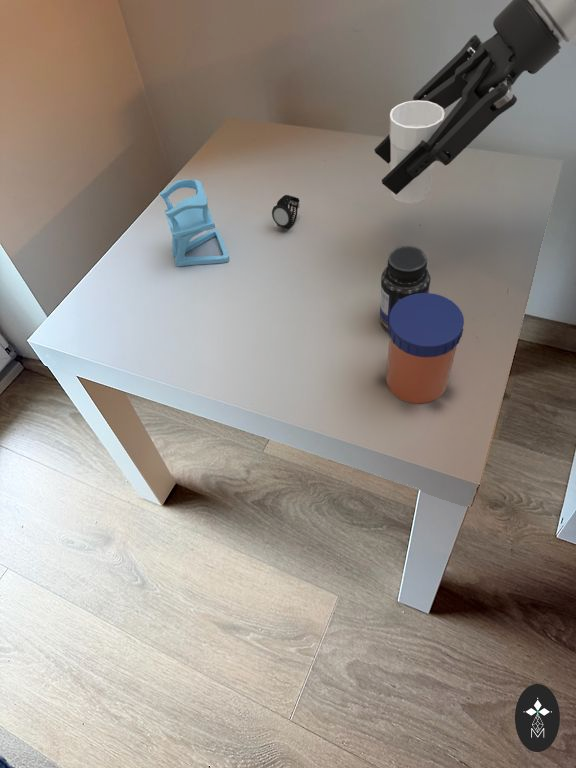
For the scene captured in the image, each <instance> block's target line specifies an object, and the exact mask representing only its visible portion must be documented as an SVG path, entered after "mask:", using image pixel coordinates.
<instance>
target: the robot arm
mask: <svg viewBox="0 0 576 768" xmlns="http://www.w3.org/2000/svg"><path fill="white" fill-rule="evenodd" d="M492 26H493V28H494V30H495V32H496V33H495V34H494V35H492V36H491V37H490V38H488V39H487V40H485V41H482V40H481V38H480V37H478V34H474V35H473V36H471V37H470V39H469V40H468V41H467V42H466V43H465V44H464V46H463V47H462V48H461V50H460V51H459V52H458V53H456V55H454V57H452V58H451V60H450V61H448V62H447V63H446V65H444V66H443V67H442V68H441V69H440V70H439V71H438V72H436V74H435V75H434V76H432V78H431V79H429V81H428V82H426V84H424V85H423V86H422V87H421V88H420V89H419V90H418V91H416V93H414V95H413V97H412V101H417V100H418V101H429V102H432V103H435V104H437V105H439V106H441V107H442V108H443V109H444V110H445V109H447V108H449V107H450V106H451V105H453V104H454V103H456V102H457V103H456V104H455V105H454V106H453V108H452V110H451V111H450V112H449V113H448V115H447V116H445V117H444V121H443V122H442V124H441V125H440V126H439V127H438V129H437V130H436V131H435V133H434V134H433V135H432V136H431V138H430V139H429V140H428V142H427V143H426V142H425V141H423V140H422V141H421V143H420V144H419V145H418V146H417V147H416V148H415V149H414V150H413V151H411V152H410V153H409V154H408V155H407V156H406V157H405V158H404V159H403V160H402V161H401V162H400V163H399V164H398V165H397V166H396V167H395V168H394V169H393V170H392V171H391V170H390V171H389V172H388V173H387V174H386V175H385V176H384V177H383V178H382V179H381V184H382V185H384V187H386V188H387V189H388V190H389V191H390V190H391V191H392V192H393V193H394V194H396V195H397V194H398V193H399V192H400V191H401V190H402V189H403V188H404V187H405V186H407V185H408V184H409V183H410V182H411V181H412V180H413V179H414V178H416V177H417V176H419V175H420V174H421V173H422V172H423V171H424V170H425V169H426V168H427V167H429V166H430V165H431V164H432V163H433V162H434V161H435V162H436V161H437V162H440V163H442V164H443V165H444V166H449V165H450V164H451V163H452V162H453V161H454V160H455V159H456V158H457V157H458V156H459V155H460V154H461V153H462V152H463V151H464V150H465V149H466V148H467V147H468V146H469V145H470V144H471V143H472V142H473V141H475V139H476V138H477V137H478V136H479V135H480V134H481V133H482V132H483V131H484V130H486V128H488V127H489V125H491V124H492V122H494V121H495V120H496V119H497V118H498V117H499V116H500V115H501V114H503V113H505V112H506V111H507V110H509V109H510V108H512V107H513V106H515V104H516V103H517V101H518V98H517V96H515V94H514V92H513V89H512V86H513V85H514V84H515V83H516V81H517V80H518V78H519V77H520V76H521V75H522V74H523V73H524V72H527V73H528V74H530V75H535V74H537V73H538V72H539V71H540V70H541V69H542V68H544V67H545V66H546V65H547V64H548V63H549V62H550V61H552V60H553V59H554V58H555V57H556V56H557V55H558V54H559V53H560V50H561V49H562V47H561V43H562V42H563V41H564V42H565V43H571V41H573V40H574V39H575V38H576V0H511V1H510V2H509V4H507V5H506V6H505V7H504V9H502V11H500V13H498V15H496V16H495V18H494V19H493V22H492ZM458 100H459V101H458ZM373 150H374V154H376V155H378V157H380V158H381V160H383V161H384V162H385V163H387V164H388V165H389V164H391V142H390V133H388V134H387V136H386V137H385V138H384V139H383V140H382V141H381V142H380V143H379V144H378V145H377V146H376V147H375V148H374V149H373ZM435 162H434V163H435Z"/></svg>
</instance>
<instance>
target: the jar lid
mask: <svg viewBox="0 0 576 768" xmlns="http://www.w3.org/2000/svg"><path fill="white" fill-rule="evenodd" d="M464 324H465V319H464V315H463V312H462V310H461V308H460V307H459V306H458V305H457V304H456V303H455V302H454V301H453V300H451V299H449V298H447V297H446V296H442V295H440V294H437V293H432V292H429V293H417V294H412V295H409V296H406V297H404V298H402V299H401V300H399V301H398V302H397V303H396V304H395V305H394V306H393V308H392V310H391V312H390V315H389V321H388V329H389V331H388V336H389V337H390V338H391V340H392V341H393V343H394V344H395V345H396V346H397V347H398V348H399V349H401V350H402V351H404V352H406V353H407V354H411V355H414V356H418V357H426V358H427V357H437V356H440V355H443V354H446V353H447V352H449V351H451V350H453V348H454V347H455V346H456V345H457V346H458V344H459V343H460V340H461V338H462V336H463V332H464Z"/></svg>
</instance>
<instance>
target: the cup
mask: <svg viewBox="0 0 576 768" xmlns="http://www.w3.org/2000/svg"><path fill="white" fill-rule="evenodd" d="M445 115H446V113H445V109H443V108H442V107H441V106H439V105H437V104H435V103H432V102H429V101H418V100H417V101H414V100H409V101H405V102H402V103H399V104H397V105H396V106H394V107H393V108H391V110H390V113H389V134H390V142H391V162H390V172H391V171H392V170H393V169H394V168H395V167H396V166H397V165H398V164H399V163H400V162H401V161H402V160H403V159H404V158H405V157H406V156H407V155H408V154H409V153H410V152H411V151H413V150H414V149H415V148H416V147H417V146H418V145H419V144H420V143H421V141H422V140H423V141H425V142H426V143H427V142H428V140H429V139H430V138H431V136H432V135H433V134H434V133H435V131H436V130H437V129H438V127H439V126H440V125H441V124H442V122H443V121H444V120H445ZM435 163H436V161H434V162H433V163H432V164H431V165H430V166H429V167H427V168H426V169H425V170H424V171H423V172H422V173H421V174H420V175H419V176H417V177H416V178H414V179H413V180H412V181H411V182H410V183H409V184H408V185H407V186H405V187H404V188H403V189H402V190H401V191H400V192H399V193H398V194H397V195H396V194H394V193H393V192H392V191H391V190H390V189H389V191H390V194H391V196H392V197H393V199H394V200H395V201H396V202H399V203H403V204H408V205H412V204H415V203H419V202H420V203H421V202H424V200H425V199H426V197H427V196H428V195H429V193H430V189H431V183H432V177H433V172H434V168H435Z"/></svg>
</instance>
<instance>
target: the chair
mask: <svg viewBox="0 0 576 768" xmlns="http://www.w3.org/2000/svg"><path fill="white" fill-rule="evenodd" d="M184 188H185V189H186V188H188V189H193V190H195V195H192V196H190V197H186V198H184V199H182V200H181V201H179V202H177V204H175V205H174V206H173V204H172V201H171V200H170V199H169V197H170V196H171V195H172V194H173V193H174V192H175V191H177V190H180V189H184ZM158 195H159V196H160V197H161V198H162V199H163V201H164V202H165V205H166V208H167V209H165V210H164V214H165V216H166V219H167V223H168V226H169V230H170V233H171V236H172V245H171V252H172V256H173V257H174V263H175V266H176V267H183V266H184V267H185V266H196V265H211V264H225V263H229V262H230V256H229V254H228V251H227V248H226V246H225V243H224V241H223V238H222V235H221V233H220V231H219V229H217V228H216V224H215V221H214V218H213V216H212V214H211V211H210V209H209V206H208V205H209V203H208V198H207V195H206V191H205V189H204V186H203V183H202V181H201V180H199V179H178V180H176V181H174V182H173V183H171V184H170V185H169V186H168V187H166V189H163V190H162V191H160V192H159V193H158ZM206 231H207V232H206ZM203 232H205V233H203ZM201 233H203V234H201ZM199 234H201V235H200V236H198V237H196V238H194V237H195V236H197V235H199ZM215 237H216V240H217V242H218V245H219V247H220V250H221V252H222V255H206V256H203V255H202V256H185V254H186V253H188V252H191V250H193V249H196V247H199V246H200V245H203V244H204V243H205V242H207V241H209V240H210V239H213V238H215ZM193 238H194V239H193ZM191 239H192V240H191Z"/></svg>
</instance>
